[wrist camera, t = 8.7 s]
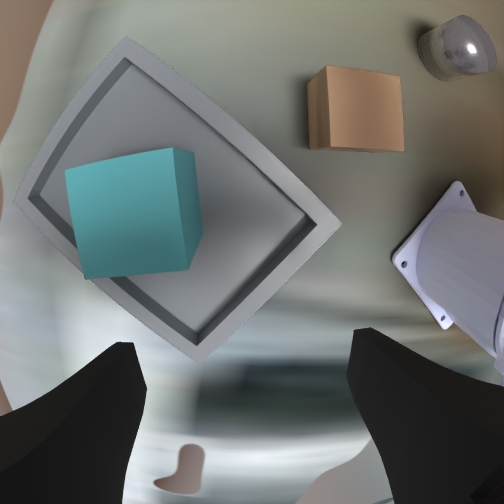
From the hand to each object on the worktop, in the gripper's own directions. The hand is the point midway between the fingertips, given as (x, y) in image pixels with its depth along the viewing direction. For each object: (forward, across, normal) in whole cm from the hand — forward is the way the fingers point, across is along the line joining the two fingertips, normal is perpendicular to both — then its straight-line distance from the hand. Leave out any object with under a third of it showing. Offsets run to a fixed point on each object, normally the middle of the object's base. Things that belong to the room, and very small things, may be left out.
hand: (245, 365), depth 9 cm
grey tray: (+9, +4, -4) cm, 11 cm away
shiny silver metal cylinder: (+10, -15, -15) cm, 23 cm away
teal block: (+9, +4, -4) cm, 11 cm away
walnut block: (+10, -6, -9) cm, 15 cm away
